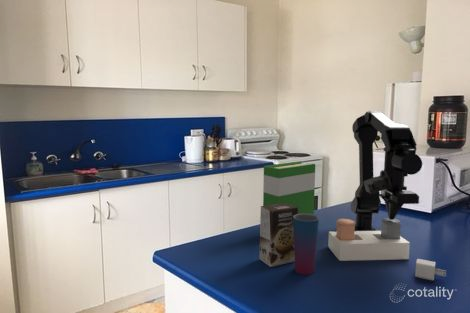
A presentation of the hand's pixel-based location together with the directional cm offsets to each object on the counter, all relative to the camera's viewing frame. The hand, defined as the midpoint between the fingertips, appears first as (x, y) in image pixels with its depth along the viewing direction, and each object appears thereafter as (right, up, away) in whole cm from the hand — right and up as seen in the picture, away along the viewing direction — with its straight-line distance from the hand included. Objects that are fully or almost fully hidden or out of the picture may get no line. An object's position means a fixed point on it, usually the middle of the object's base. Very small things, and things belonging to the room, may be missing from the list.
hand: (391, 219), depth 112 cm
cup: (-28, -12, -11) cm, 33 cm away
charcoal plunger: (0, -6, +1) cm, 6 cm away
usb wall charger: (+4, -13, -15) cm, 20 cm away
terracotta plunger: (-14, -6, 0) cm, 15 cm away
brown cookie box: (-35, -11, -5) cm, 37 cm away
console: (-7, -10, +1) cm, 13 cm away
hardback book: (-28, -8, +19) cm, 35 cm away
